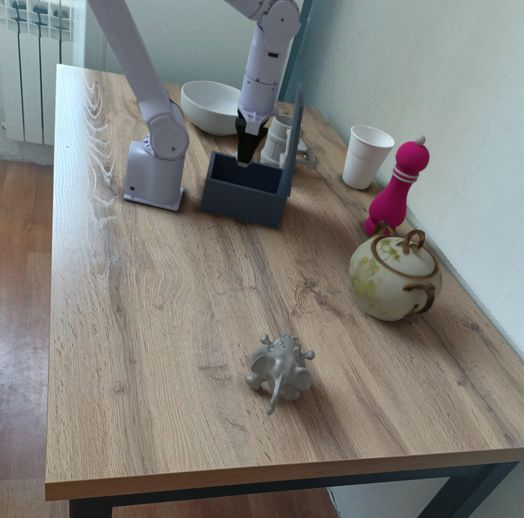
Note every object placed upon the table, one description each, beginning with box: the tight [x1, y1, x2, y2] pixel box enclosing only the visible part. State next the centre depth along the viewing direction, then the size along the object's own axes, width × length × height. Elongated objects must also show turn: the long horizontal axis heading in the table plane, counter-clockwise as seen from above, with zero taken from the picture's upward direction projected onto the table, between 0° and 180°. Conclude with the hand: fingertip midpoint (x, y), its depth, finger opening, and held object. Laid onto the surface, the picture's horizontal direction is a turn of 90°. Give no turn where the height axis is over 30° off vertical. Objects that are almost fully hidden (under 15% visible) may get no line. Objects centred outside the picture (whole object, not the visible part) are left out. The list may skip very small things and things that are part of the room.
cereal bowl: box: [180, 80, 241, 137], centre depth 120 cm, size 17×17×7 cm
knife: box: [278, 108, 308, 160], centre depth 129 cm, size 27×2×5 cm
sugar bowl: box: [348, 221, 443, 322], centre depth 85 cm, size 20×15×15 cm
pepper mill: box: [363, 134, 431, 237], centre depth 101 cm, size 7×7×20 cm
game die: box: [234, 150, 255, 168], centre depth 95 cm, size 4×4×3 cm
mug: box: [260, 114, 304, 169], centre depth 112 cm, size 8×12×12 cm, turn 8°
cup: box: [341, 124, 396, 190], centre depth 117 cm, size 10×10×11 cm
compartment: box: [199, 149, 288, 230], centre depth 100 cm, size 15×12×6 cm
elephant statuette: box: [245, 332, 316, 416], centre depth 67 cm, size 9×12×8 cm
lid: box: [286, 81, 316, 198], centre depth 93 cm, size 15×12×4 cm
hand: (243, 157), depth 95 cm, fingers closed on game die, 3 cm apart
